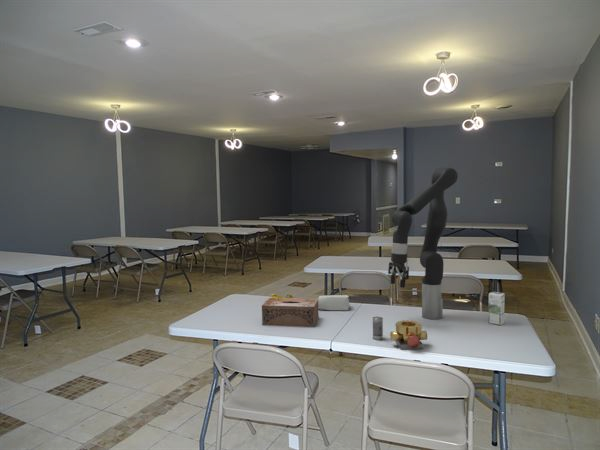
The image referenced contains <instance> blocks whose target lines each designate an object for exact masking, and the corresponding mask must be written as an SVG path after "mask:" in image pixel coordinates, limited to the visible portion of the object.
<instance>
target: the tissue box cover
mask: <svg viewBox="0 0 600 450" xmlns="http://www.w3.org/2000/svg"><path fill="white" fill-rule="evenodd" d="M319 310H320V309H319V307H318V298H293V299H290V298H285V297H284V298H272V297H269V298H268V299H267V300H266V301H264V303H263V304H261V324H262V325H261V326H276V327H277V326H280V327H301V328H302V327H303V328H305V327H306V328H315V327H316V324H317V322H318V321H319V318H320V315H319Z"/></svg>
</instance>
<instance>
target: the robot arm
mask: <svg viewBox="0 0 600 450" xmlns="http://www.w3.org/2000/svg"><path fill="white" fill-rule="evenodd" d="M458 174H459V173H458V172H457V170H456V169H455V168H453V167H438V168H436V169H434V171H433V173H432V175H431V185H430V186H427V187H426V188H424V189H423V190H421V191H419V192H417V194H415V195H414V196H413V197H412V198H411V199H409V201H408V202H407V203H405V204H403V205H402V206H400V207H398V208H397V209H396V210H395V211H393V213H392V215H391V223H393V225H395V226H397V228H396V230H394V232H393V233H392V244H391V245H392V246H391V253H390V261H391V262H389V263H388V270H387V273H388V275H389V276H390V284H392V285H395V284H396V275H398V276H399V278H400V283H399V287H400V288H402V289H405V287H406V280H409V276H410V266H409V265H408V266H406V263H407V262H408V250H409V249H408V248H409V247H408V246H409V245H408V242H409V241H408V240H409V234H410V231H411V227H412V223H413V217H412V216H413V215H417V214H419V212H422V211H421V210H423V209H424V208H425V207H427V205H428V204H429V205H428V212H427V219H426V227H425V231H424V232H425V233H424V238H423V239H424V240H423V245H422V248H421V252H420V256H419V264H420V265H421V266H422V267H423V268H424V270H425V271H424V273H425V274H424V276H422V278H421V317H422V318H423V319H428V320H439V319H443V317H444V316H443V309H444V308H443V305H444V304H443V302H444V300H443V298H442V280H443V278H444V258H443V256H442V254H441V253H439V252H438V244H439V241H440V239H441V237H442V235H443V234H444V231H445V229H446V227H447V223H448V222H447V220H448V208H447V206H446V205H447V204H446V202H445V197H444V196H445V191H446V190H447V189H450V187H452V186H453V185H455V183H456V182H457V181H458V177H459V176H458Z"/></svg>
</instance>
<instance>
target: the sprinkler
mask: <svg viewBox="0 0 600 450" xmlns="http://www.w3.org/2000/svg"><path fill="white" fill-rule="evenodd" d="M270 298H290V299H294V296H293V294H291V293H288V294H286V296H285V297H283V296H281V295H277V294H276V293H272V294H270Z"/></svg>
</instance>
